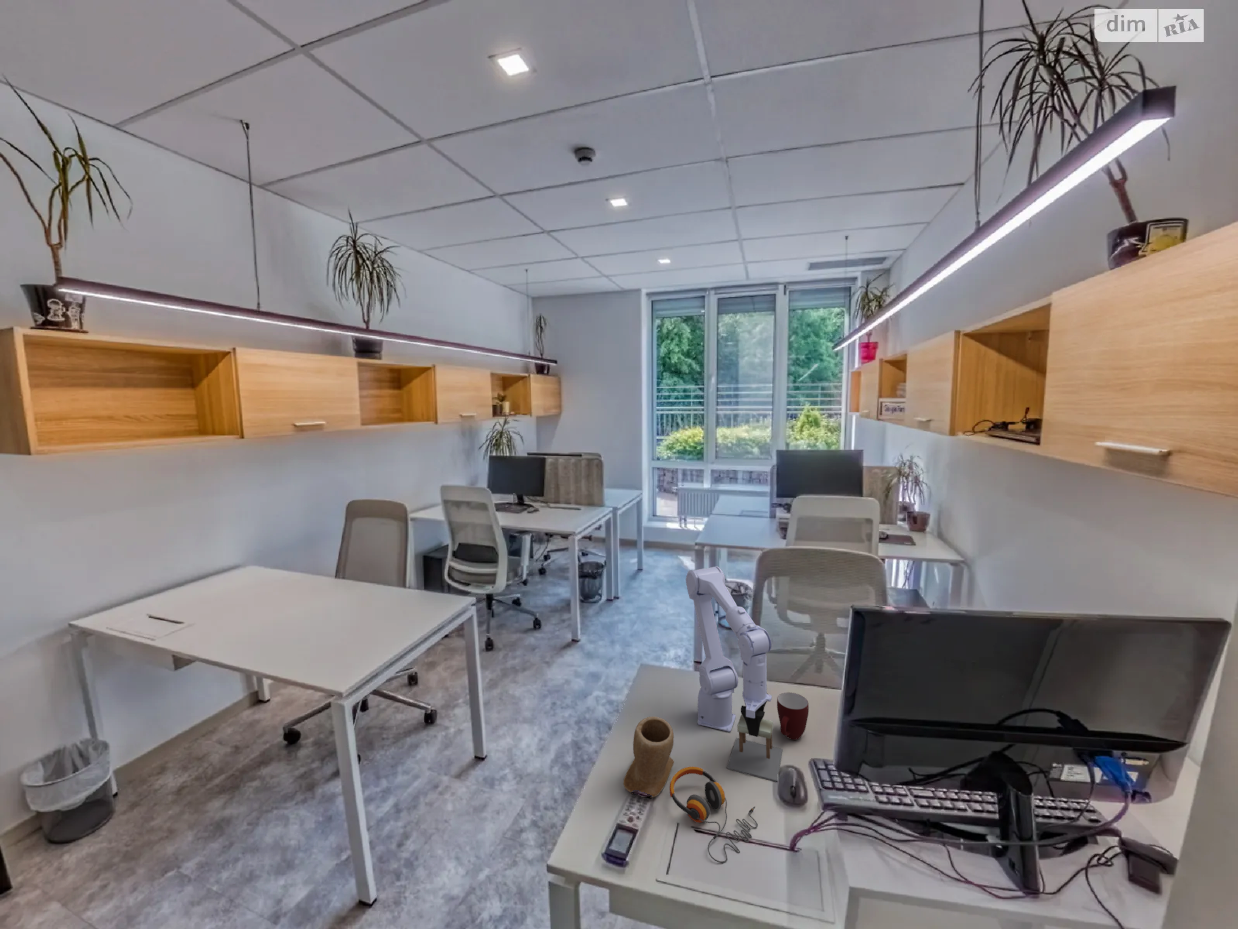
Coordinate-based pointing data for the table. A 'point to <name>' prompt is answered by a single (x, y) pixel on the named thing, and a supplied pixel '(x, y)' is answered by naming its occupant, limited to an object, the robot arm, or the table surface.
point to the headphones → (700, 808)
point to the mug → (792, 714)
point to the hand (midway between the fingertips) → (755, 728)
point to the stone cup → (650, 756)
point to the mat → (755, 760)
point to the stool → (764, 731)
